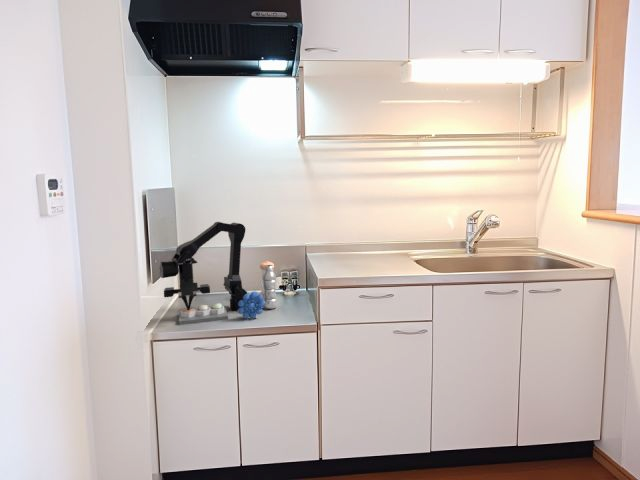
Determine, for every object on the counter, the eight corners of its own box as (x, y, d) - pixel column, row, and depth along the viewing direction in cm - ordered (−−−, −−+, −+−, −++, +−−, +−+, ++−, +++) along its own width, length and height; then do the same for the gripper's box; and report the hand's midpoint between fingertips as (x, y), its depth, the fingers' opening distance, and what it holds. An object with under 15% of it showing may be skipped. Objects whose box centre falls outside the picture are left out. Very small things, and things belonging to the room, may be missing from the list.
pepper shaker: (261, 296, 218) (259, 259, 215) (275, 296, 219) (274, 259, 216) (260, 301, 211) (259, 262, 208) (275, 300, 212) (274, 261, 209)
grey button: (207, 309, 191) (207, 304, 190) (207, 312, 187) (207, 306, 187) (198, 310, 190) (197, 305, 189) (198, 313, 186) (198, 307, 186)
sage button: (221, 308, 193) (221, 302, 192) (222, 310, 189) (221, 305, 188) (212, 309, 191) (211, 303, 191) (212, 311, 188) (212, 306, 187)
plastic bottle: (265, 311, 195) (264, 267, 192) (261, 307, 201) (259, 265, 198) (279, 309, 198) (277, 266, 195) (274, 305, 204) (273, 263, 201)
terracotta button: (193, 313, 189) (193, 307, 189) (193, 316, 185) (193, 310, 185) (183, 314, 188) (183, 308, 188) (183, 317, 184) (183, 311, 184)
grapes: (265, 314, 190) (264, 288, 188) (266, 319, 184) (265, 292, 182) (238, 316, 188) (237, 289, 187) (238, 321, 182) (236, 294, 180)
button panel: (225, 309, 198) (224, 302, 198) (228, 319, 185) (227, 311, 185) (179, 314, 192) (178, 307, 192) (179, 324, 179) (178, 316, 179)
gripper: (161, 280, 174) (164, 318, 176) (209, 276, 179) (211, 313, 182) (163, 274, 184) (165, 310, 187) (208, 271, 190) (210, 305, 192)
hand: (188, 309), depth 186 cm, fingers closed, pressing on terracotta button
